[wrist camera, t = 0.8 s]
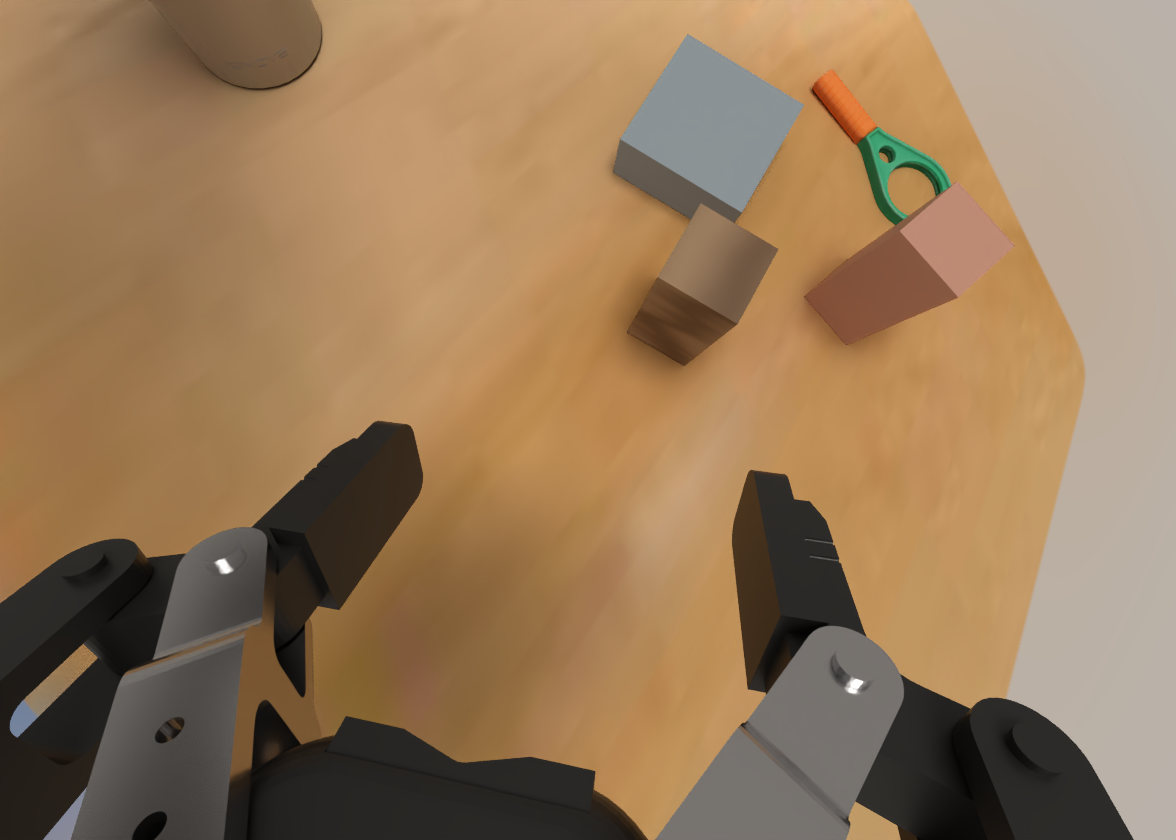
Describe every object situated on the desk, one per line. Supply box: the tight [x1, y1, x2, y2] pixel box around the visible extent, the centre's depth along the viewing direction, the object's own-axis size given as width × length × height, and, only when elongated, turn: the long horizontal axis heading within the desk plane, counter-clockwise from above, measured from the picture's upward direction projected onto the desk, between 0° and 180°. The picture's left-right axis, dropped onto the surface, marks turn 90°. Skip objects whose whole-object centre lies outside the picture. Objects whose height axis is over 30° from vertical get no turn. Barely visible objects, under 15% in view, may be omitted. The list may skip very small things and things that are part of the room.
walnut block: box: [627, 204, 778, 366], centre depth 30 cm, size 5×5×10 cm
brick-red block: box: [804, 181, 1015, 345], centre depth 31 cm, size 5×5×10 cm
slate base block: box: [613, 34, 804, 223], centre depth 35 cm, size 10×10×4 cm
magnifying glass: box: [812, 69, 951, 225], centre depth 38 cm, size 15×6×2 cm, turn 38°
